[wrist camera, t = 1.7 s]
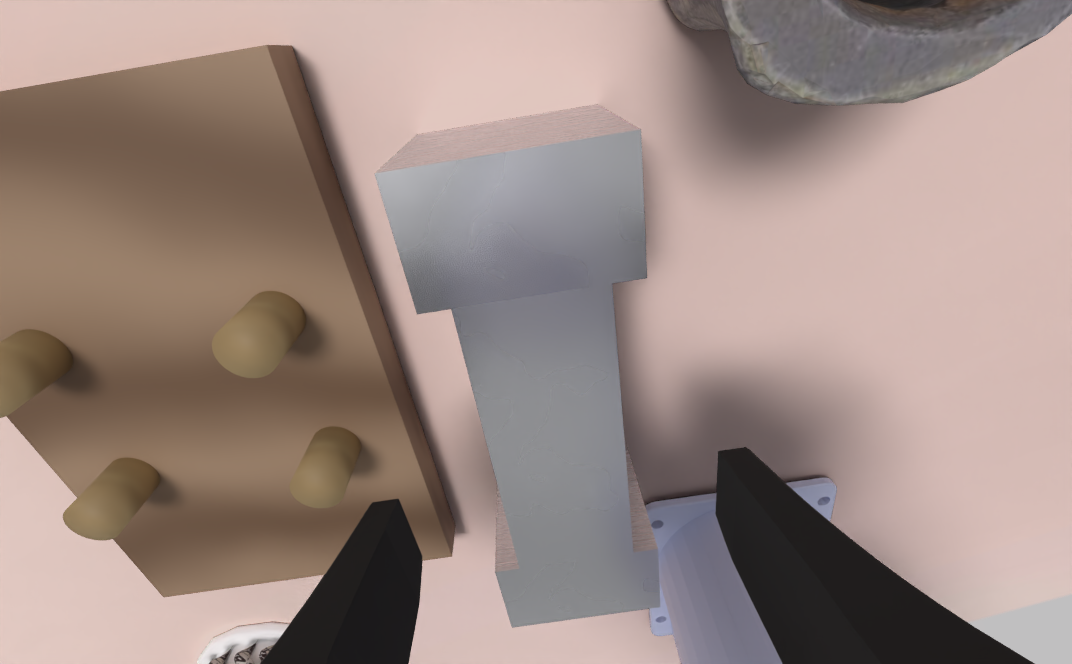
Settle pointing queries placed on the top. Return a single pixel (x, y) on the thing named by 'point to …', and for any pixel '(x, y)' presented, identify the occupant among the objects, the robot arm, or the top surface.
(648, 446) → the top surface
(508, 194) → the grey i-beam block
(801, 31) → the pipe
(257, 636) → the decorative candle
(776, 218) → the top surface
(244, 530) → the peg board
